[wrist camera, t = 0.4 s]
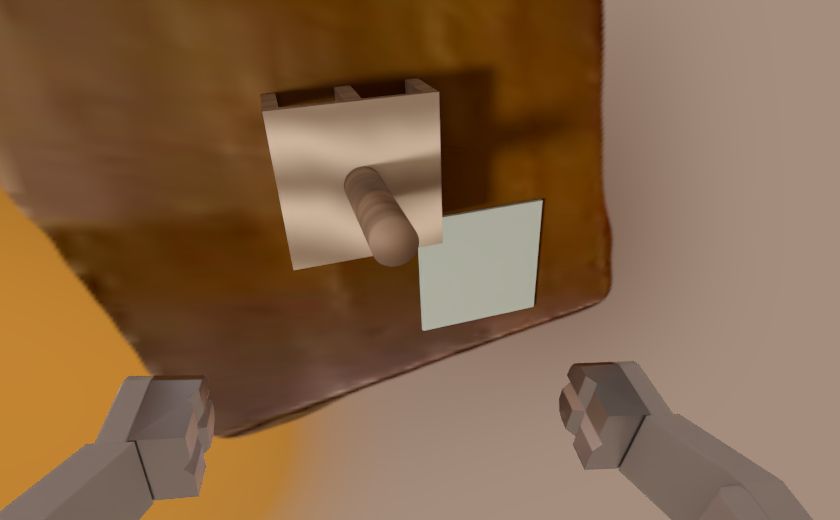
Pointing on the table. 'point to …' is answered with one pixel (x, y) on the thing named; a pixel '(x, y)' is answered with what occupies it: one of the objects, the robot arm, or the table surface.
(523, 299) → the mat
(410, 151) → the wooden peg stand
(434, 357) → the table surface
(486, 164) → the table surface
